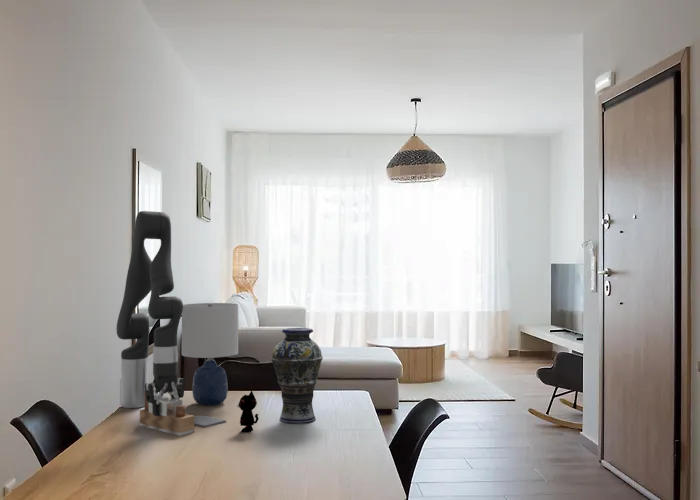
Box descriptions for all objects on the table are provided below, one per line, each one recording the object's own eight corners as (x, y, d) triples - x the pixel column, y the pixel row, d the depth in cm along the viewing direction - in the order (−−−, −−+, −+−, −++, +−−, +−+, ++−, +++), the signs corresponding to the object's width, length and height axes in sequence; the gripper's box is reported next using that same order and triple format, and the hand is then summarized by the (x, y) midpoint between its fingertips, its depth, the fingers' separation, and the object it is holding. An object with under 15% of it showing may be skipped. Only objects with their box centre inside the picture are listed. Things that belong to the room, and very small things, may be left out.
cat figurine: (241, 427, 219) (241, 389, 220) (262, 428, 218) (262, 390, 218) (233, 433, 213) (233, 393, 213) (254, 434, 211) (254, 394, 211)
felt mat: (180, 421, 227) (180, 420, 227) (201, 416, 234) (201, 415, 234) (204, 427, 220) (204, 425, 220) (226, 422, 227) (226, 420, 227)
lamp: (232, 410, 245) (232, 305, 245) (175, 409, 245) (175, 305, 245) (242, 398, 265) (242, 301, 265) (189, 398, 265) (189, 301, 266)
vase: (261, 423, 225) (261, 330, 225) (286, 412, 241) (286, 325, 241) (308, 428, 219) (308, 332, 219) (330, 416, 235) (330, 327, 235)
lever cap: (148, 412, 219) (148, 397, 219) (164, 408, 223) (164, 394, 223) (166, 416, 213) (166, 401, 213) (182, 412, 218) (182, 398, 218)
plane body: (139, 425, 222) (139, 391, 222) (154, 422, 226) (154, 388, 226) (179, 435, 210) (179, 399, 210) (194, 432, 214) (194, 396, 214)
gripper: (176, 356, 226) (176, 408, 226) (138, 361, 215) (138, 416, 215) (191, 358, 222) (191, 411, 222) (153, 364, 210) (153, 420, 210)
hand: (165, 413), depth 218 cm, fingers closed on lever cap, 6 cm apart
